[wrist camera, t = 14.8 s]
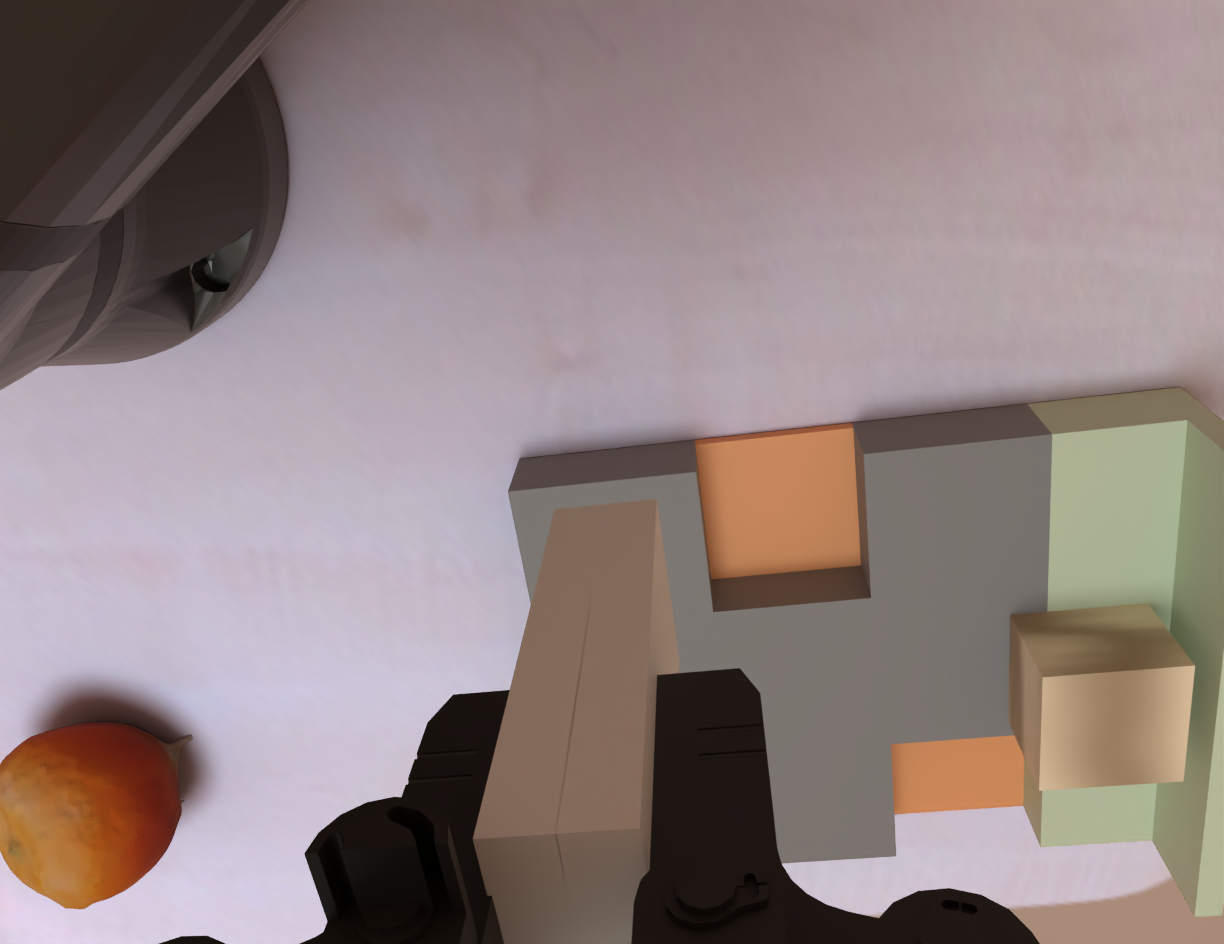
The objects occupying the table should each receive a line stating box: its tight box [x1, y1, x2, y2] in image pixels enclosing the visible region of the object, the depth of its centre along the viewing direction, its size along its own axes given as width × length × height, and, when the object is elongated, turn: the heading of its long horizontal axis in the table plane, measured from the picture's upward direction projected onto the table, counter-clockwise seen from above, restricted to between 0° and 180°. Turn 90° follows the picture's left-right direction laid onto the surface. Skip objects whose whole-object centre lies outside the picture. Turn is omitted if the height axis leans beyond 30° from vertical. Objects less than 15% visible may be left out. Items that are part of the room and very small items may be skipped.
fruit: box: [0, 722, 193, 909], centre depth 47 cm, size 8×8×8 cm
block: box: [1008, 603, 1195, 791], centre depth 39 cm, size 5×5×4 cm
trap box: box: [508, 387, 1224, 917], centre depth 41 cm, size 25×19×7 cm
